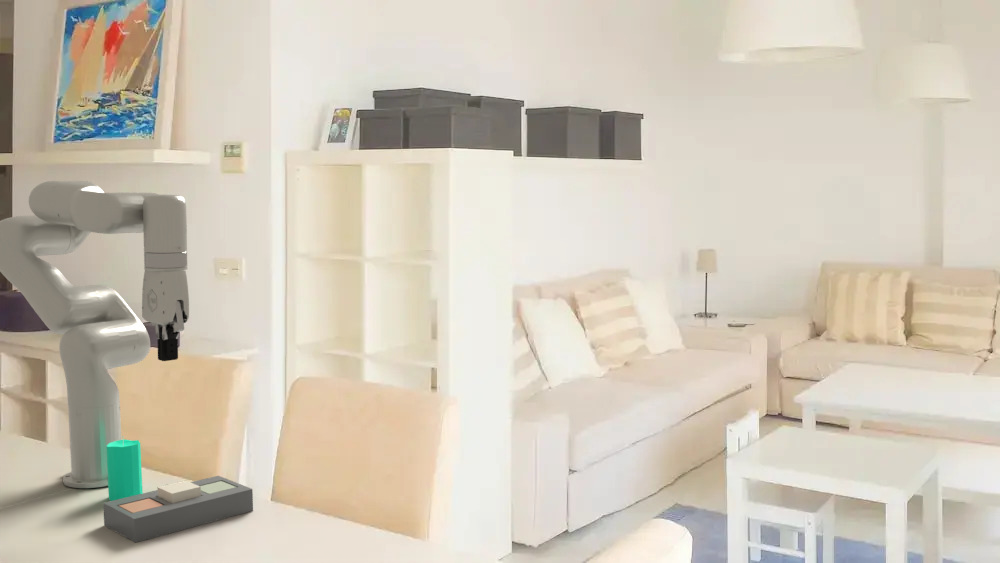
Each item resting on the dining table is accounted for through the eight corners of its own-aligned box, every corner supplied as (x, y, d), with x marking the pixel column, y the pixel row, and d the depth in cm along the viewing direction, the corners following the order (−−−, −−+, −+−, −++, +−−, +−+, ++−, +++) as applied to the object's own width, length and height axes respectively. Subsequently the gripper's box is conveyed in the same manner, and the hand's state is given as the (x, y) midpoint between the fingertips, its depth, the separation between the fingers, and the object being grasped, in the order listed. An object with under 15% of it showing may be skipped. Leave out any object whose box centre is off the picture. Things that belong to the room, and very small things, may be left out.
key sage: (195, 504, 175) (194, 487, 175) (221, 497, 179) (221, 481, 179) (209, 511, 172) (209, 493, 171) (236, 504, 176) (236, 487, 175)
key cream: (158, 504, 170) (157, 487, 170) (186, 497, 174) (185, 480, 174) (172, 511, 167) (171, 493, 166) (201, 504, 170) (200, 486, 170)
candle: (131, 503, 179) (128, 439, 178) (102, 501, 180) (99, 438, 179) (148, 493, 185) (146, 431, 184) (120, 491, 186) (117, 430, 185)
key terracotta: (119, 523, 165) (118, 505, 165) (149, 516, 169) (149, 498, 169) (133, 531, 162) (133, 512, 161) (164, 523, 166) (163, 505, 165)
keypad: (104, 525, 167) (103, 502, 167) (219, 496, 183) (218, 475, 182) (135, 542, 159) (134, 518, 158) (253, 510, 174) (252, 488, 174)
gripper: (128, 260, 180) (130, 356, 182) (165, 265, 169) (168, 368, 171) (166, 258, 185) (168, 352, 187) (204, 263, 175) (206, 363, 177)
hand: (168, 359), depth 179 cm, fingers closed
